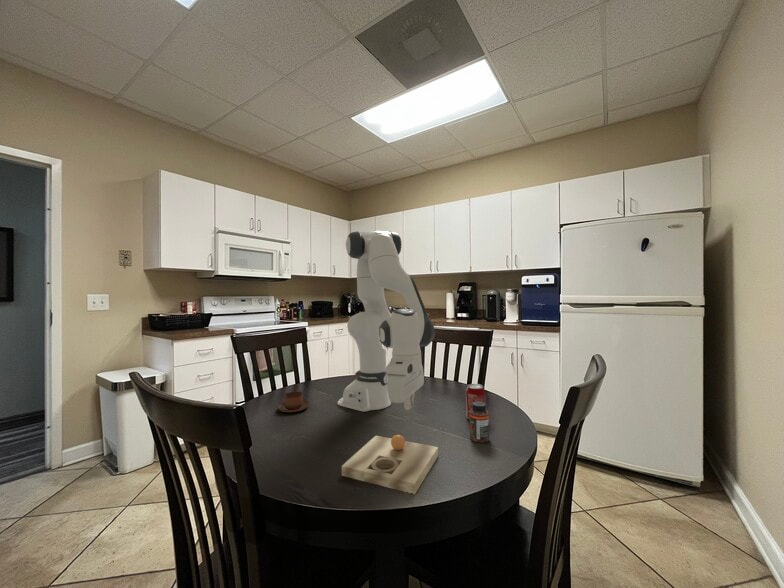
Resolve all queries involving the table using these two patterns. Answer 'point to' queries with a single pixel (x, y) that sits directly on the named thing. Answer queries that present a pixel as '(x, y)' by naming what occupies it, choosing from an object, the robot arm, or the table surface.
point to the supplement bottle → (479, 422)
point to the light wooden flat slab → (391, 464)
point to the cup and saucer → (293, 402)
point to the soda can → (474, 396)
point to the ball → (398, 442)
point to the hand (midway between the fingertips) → (409, 408)
